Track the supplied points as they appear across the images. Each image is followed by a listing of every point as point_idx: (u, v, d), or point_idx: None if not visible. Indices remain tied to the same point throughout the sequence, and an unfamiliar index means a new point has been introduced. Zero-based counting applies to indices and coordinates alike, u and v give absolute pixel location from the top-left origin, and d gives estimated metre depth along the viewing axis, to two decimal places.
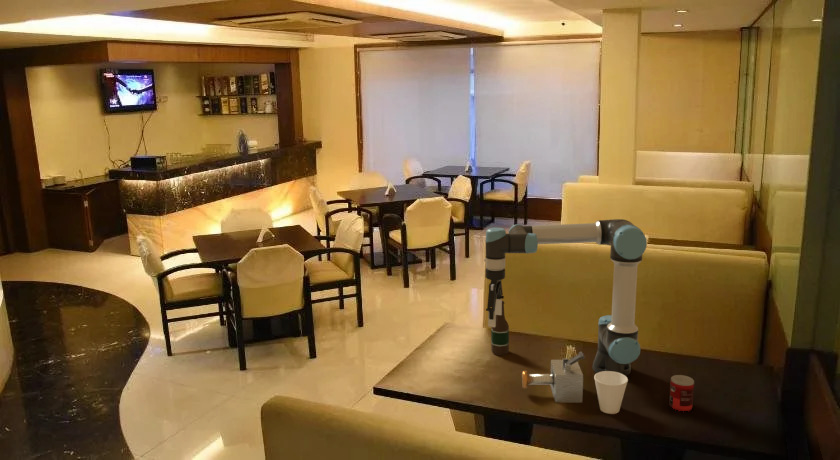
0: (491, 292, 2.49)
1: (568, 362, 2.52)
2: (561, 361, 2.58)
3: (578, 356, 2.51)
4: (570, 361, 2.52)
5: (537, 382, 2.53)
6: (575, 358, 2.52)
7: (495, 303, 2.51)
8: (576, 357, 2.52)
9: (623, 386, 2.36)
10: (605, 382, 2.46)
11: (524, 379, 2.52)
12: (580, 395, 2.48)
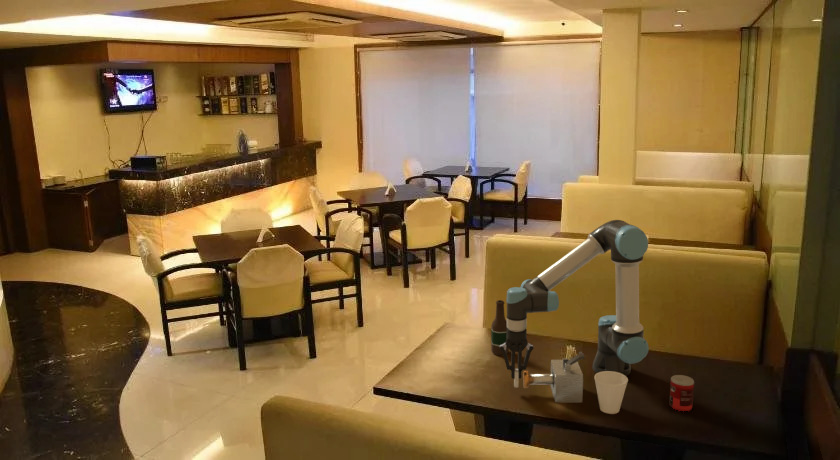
0: None
1: (568, 362, 2.52)
2: (561, 361, 2.58)
3: (578, 356, 2.51)
4: (570, 361, 2.52)
5: (539, 382, 2.53)
6: (575, 358, 2.52)
7: (513, 363, 2.53)
8: (576, 357, 2.52)
9: (623, 386, 2.36)
10: (605, 382, 2.46)
11: (525, 379, 2.52)
12: (580, 395, 2.48)
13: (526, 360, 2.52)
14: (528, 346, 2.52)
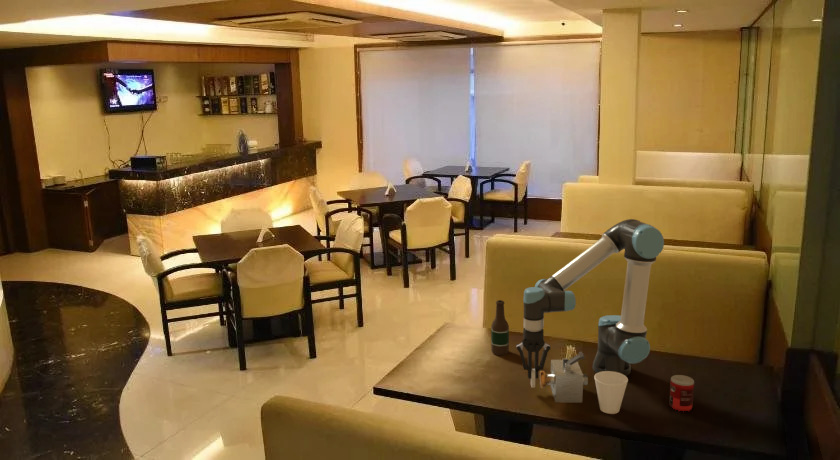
0: None
1: (568, 362, 2.52)
2: (561, 361, 2.58)
3: (578, 356, 2.51)
4: (570, 361, 2.52)
5: None
6: (575, 358, 2.52)
7: (530, 363, 2.52)
8: (576, 357, 2.52)
9: (623, 386, 2.36)
10: (605, 382, 2.46)
11: (542, 379, 2.52)
12: (580, 395, 2.48)
13: (543, 360, 2.52)
14: (545, 346, 2.51)
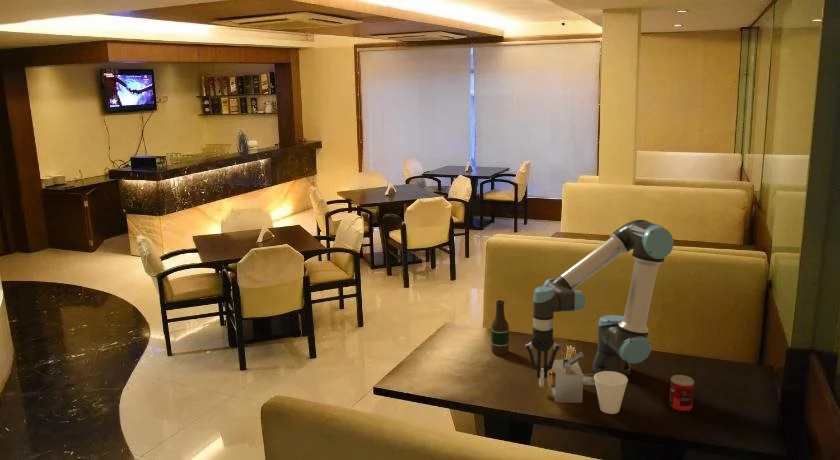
0: None
1: (568, 362, 2.52)
2: (561, 361, 2.58)
3: (578, 356, 2.51)
4: (570, 361, 2.52)
5: None
6: (575, 358, 2.52)
7: (539, 362, 2.52)
8: (576, 357, 2.52)
9: (623, 386, 2.36)
10: (605, 382, 2.46)
11: (551, 379, 2.51)
12: (580, 395, 2.48)
13: (552, 360, 2.52)
14: (554, 346, 2.51)
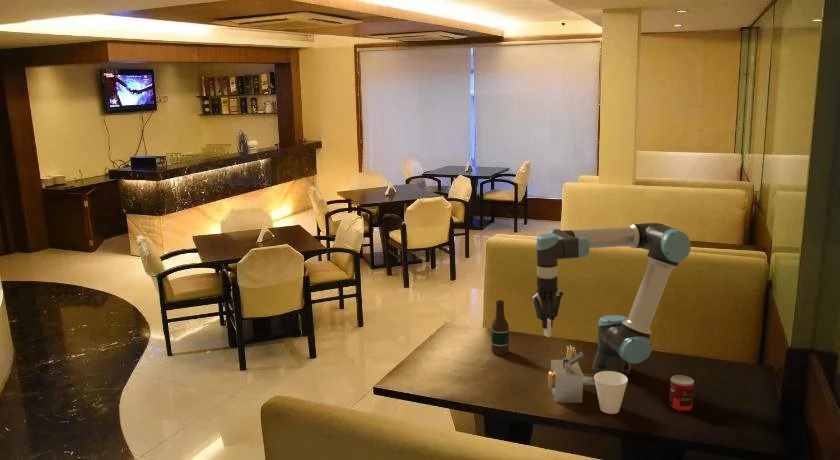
0: (535, 303, 2.46)
1: (568, 362, 2.52)
2: (561, 361, 2.58)
3: (578, 356, 2.51)
4: (570, 361, 2.52)
5: None
6: (575, 358, 2.52)
7: (546, 312, 2.47)
8: (576, 357, 2.52)
9: (623, 386, 2.36)
10: (605, 382, 2.46)
11: (551, 379, 2.51)
12: (580, 395, 2.48)
13: (557, 307, 2.49)
14: (557, 292, 2.49)
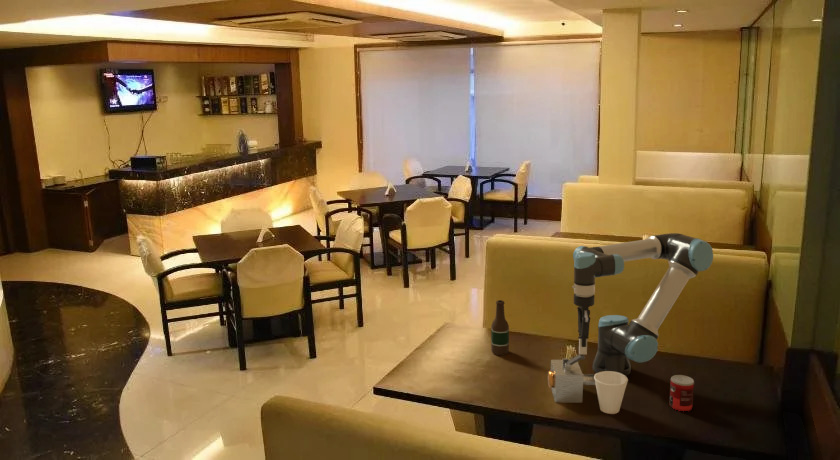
0: (585, 323, 2.43)
1: (568, 362, 2.52)
2: (561, 361, 2.58)
3: (578, 356, 2.51)
4: (570, 361, 2.52)
5: None
6: (575, 358, 2.52)
7: None
8: (576, 357, 2.52)
9: (623, 386, 2.36)
10: (605, 382, 2.46)
11: (551, 379, 2.51)
12: (580, 395, 2.48)
13: None
14: None
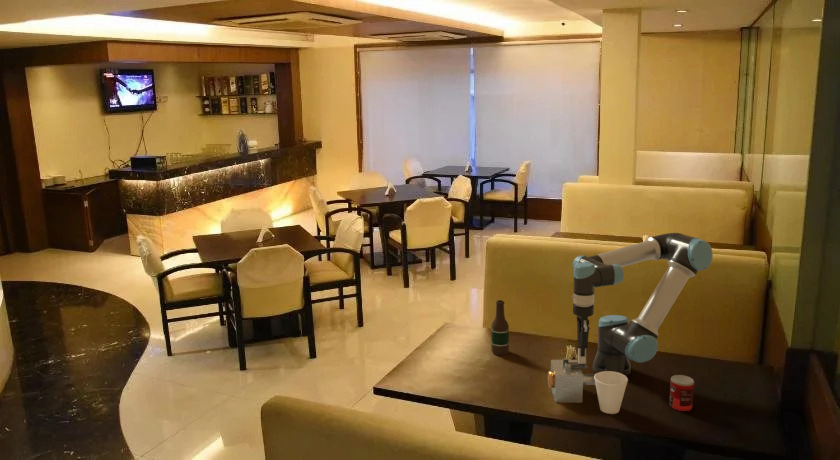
0: (584, 333, 2.44)
1: (569, 363, 2.53)
2: (561, 361, 2.58)
3: None
4: (572, 363, 2.52)
5: None
6: (578, 364, 2.52)
7: None
8: None
9: (623, 386, 2.36)
10: (605, 382, 2.46)
11: (551, 379, 2.51)
12: (580, 395, 2.48)
13: None
14: None
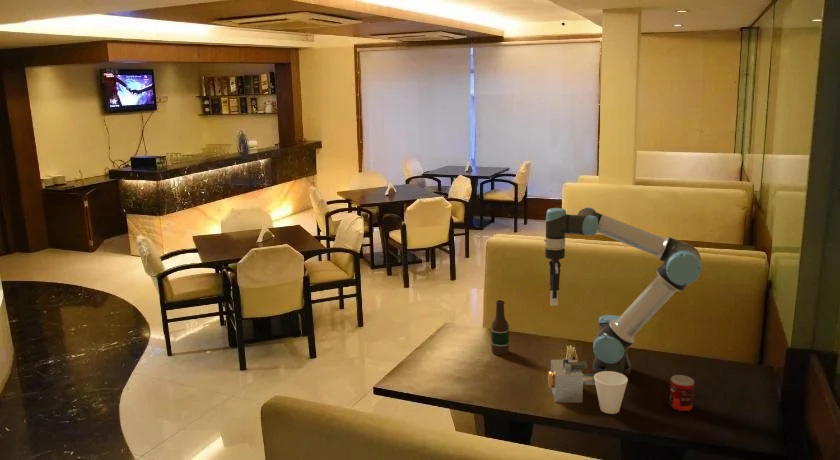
0: (556, 275, 2.56)
1: (569, 363, 2.53)
2: (561, 361, 2.58)
3: (581, 364, 2.52)
4: (572, 364, 2.52)
5: None
6: (578, 364, 2.52)
7: None
8: (579, 363, 2.52)
9: (623, 386, 2.36)
10: (605, 382, 2.46)
11: (551, 379, 2.51)
12: (580, 395, 2.48)
13: None
14: None
